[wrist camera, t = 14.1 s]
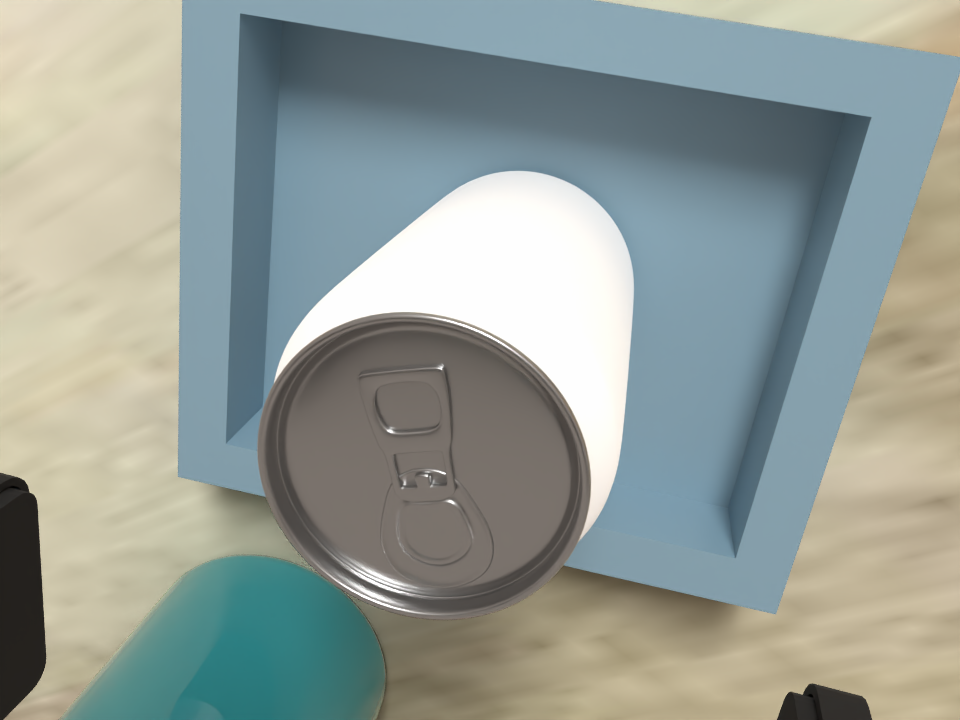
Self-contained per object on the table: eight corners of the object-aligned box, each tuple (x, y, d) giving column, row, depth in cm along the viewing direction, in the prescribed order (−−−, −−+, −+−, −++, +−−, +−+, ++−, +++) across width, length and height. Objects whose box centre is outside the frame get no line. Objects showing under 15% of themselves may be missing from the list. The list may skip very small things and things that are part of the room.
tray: (920, 50, 22) (964, 58, 19) (762, 545, 28) (775, 614, 25) (245, -54, 24) (183, -64, 21) (228, 426, 30) (177, 476, 27)
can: (433, 393, 27) (282, 646, 16) (392, 184, 25) (186, 309, 14) (646, 375, 26) (639, 638, 15) (621, 151, 24) (591, 262, 13)
